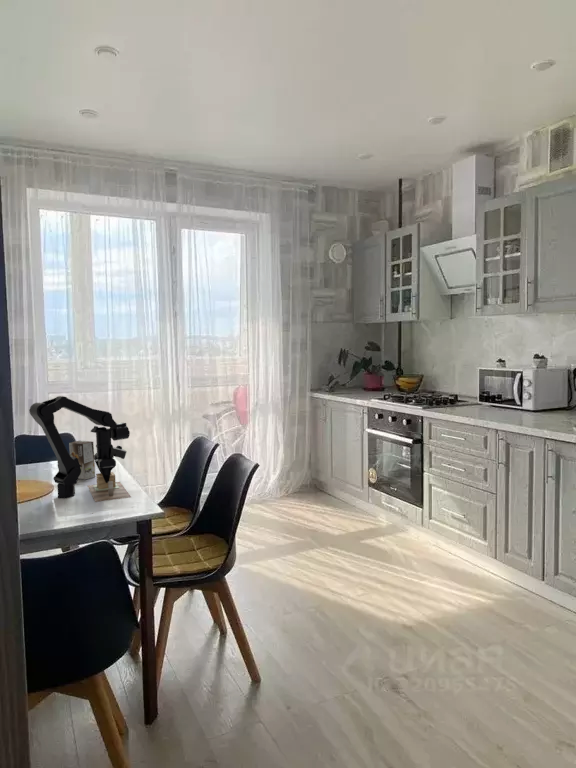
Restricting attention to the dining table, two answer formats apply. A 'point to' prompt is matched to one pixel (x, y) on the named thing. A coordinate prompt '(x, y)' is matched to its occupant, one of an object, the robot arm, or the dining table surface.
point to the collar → (101, 482)
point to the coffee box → (84, 457)
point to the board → (105, 493)
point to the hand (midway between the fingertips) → (105, 480)
